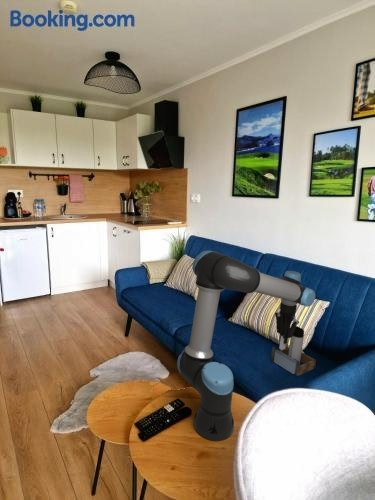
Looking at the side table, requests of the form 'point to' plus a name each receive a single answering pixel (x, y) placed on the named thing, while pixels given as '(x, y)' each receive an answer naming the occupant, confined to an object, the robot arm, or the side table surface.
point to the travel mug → (296, 344)
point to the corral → (306, 359)
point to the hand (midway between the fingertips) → (282, 348)
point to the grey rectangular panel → (285, 361)
